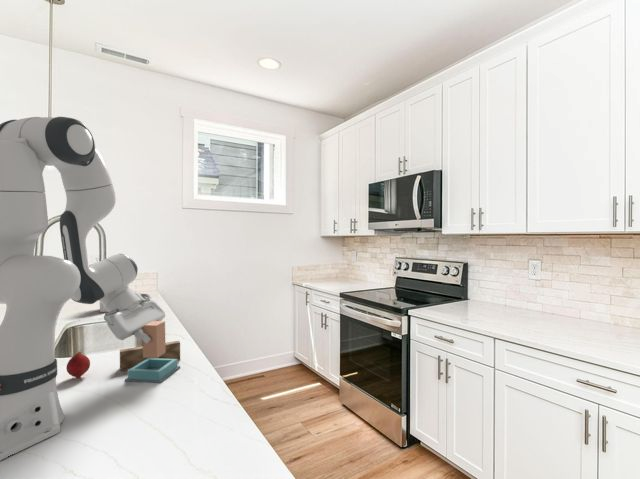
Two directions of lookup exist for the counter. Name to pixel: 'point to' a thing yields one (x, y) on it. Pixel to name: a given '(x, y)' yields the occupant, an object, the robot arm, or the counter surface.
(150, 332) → the block
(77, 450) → the counter surface
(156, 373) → the tray
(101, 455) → the counter surface
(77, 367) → the onion
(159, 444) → the counter surface
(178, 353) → the walnut board
